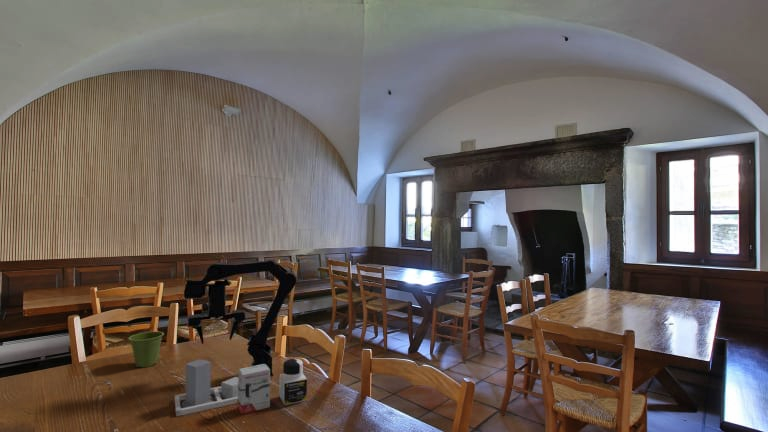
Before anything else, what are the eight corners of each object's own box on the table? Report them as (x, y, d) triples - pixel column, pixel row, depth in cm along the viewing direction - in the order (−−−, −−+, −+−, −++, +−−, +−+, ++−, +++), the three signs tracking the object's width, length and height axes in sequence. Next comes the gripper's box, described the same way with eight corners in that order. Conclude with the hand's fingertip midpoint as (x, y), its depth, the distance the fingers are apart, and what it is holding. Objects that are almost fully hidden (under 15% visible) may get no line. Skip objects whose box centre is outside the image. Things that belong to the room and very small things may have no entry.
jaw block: (200, 396, 125) (200, 359, 125) (210, 400, 122) (210, 362, 122) (185, 403, 120) (185, 363, 120) (195, 407, 118) (195, 367, 118)
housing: (247, 385, 134) (247, 380, 134) (255, 399, 124) (255, 394, 124) (174, 400, 123) (174, 395, 123) (176, 416, 113) (176, 411, 113)
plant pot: (155, 356, 162) (155, 329, 162) (169, 363, 155) (169, 334, 155) (122, 365, 152) (123, 336, 152) (136, 372, 145) (136, 342, 145)
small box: (235, 390, 130) (235, 375, 130) (247, 394, 128) (247, 379, 128) (220, 397, 125) (220, 382, 126) (232, 401, 123) (232, 386, 123)
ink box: (241, 415, 114) (241, 374, 114) (237, 408, 118) (237, 368, 118) (270, 407, 119) (270, 368, 119) (265, 400, 123) (265, 363, 123)
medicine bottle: (284, 405, 120) (284, 366, 120) (279, 396, 126) (279, 359, 126) (307, 400, 123) (307, 362, 123) (300, 392, 129) (301, 355, 130)
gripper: (240, 292, 152) (239, 332, 152) (186, 296, 143) (185, 339, 143) (245, 297, 142) (245, 340, 142) (188, 302, 133) (188, 348, 133)
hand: (216, 341), depth 140 cm, fingers open, 9 cm apart
